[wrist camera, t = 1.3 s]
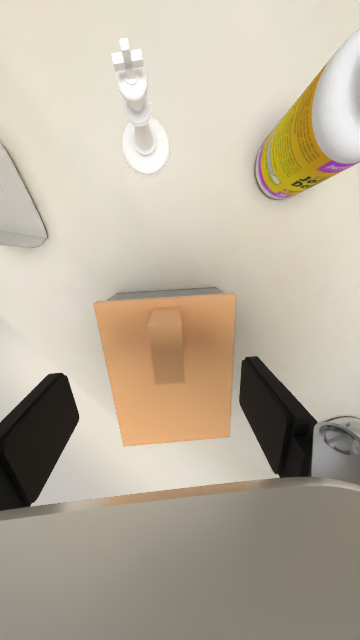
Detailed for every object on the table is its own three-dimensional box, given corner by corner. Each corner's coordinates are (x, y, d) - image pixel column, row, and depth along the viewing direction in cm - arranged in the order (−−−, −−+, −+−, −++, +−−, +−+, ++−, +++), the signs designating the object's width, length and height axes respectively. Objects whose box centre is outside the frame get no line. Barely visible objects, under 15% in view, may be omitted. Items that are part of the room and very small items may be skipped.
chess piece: (173, 173, 20) (176, 97, 11) (129, 180, 20) (93, 111, 11) (165, 115, 19) (160, -35, 9) (117, 123, 19) (62, -18, 9)
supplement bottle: (261, 210, 22) (377, 149, 10) (246, 145, 20) (371, -40, 7) (316, 186, 21) (513, 88, 9) (306, 117, 19) (546, -131, 7)
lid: (225, 423, 25) (244, 481, 19) (127, 432, 25) (111, 494, 18) (229, 291, 19) (260, 307, 13) (101, 299, 19) (64, 320, 12)
